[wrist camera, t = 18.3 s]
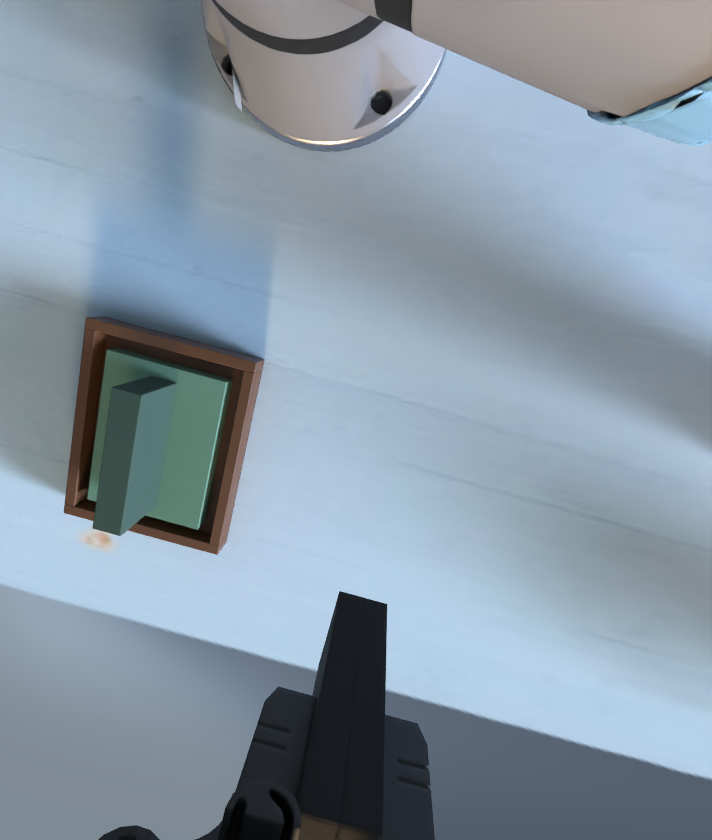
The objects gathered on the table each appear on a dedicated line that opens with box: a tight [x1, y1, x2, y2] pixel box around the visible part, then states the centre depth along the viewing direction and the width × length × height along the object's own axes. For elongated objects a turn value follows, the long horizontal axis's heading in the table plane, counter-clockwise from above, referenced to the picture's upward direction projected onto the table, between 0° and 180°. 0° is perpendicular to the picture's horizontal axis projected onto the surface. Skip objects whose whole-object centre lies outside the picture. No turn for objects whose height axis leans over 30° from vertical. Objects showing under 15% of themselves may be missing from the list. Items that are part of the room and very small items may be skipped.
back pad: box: [87, 348, 233, 536], centre depth 34 cm, size 12×9×6 cm
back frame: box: [64, 317, 264, 555], centre depth 37 cm, size 16×13×2 cm
